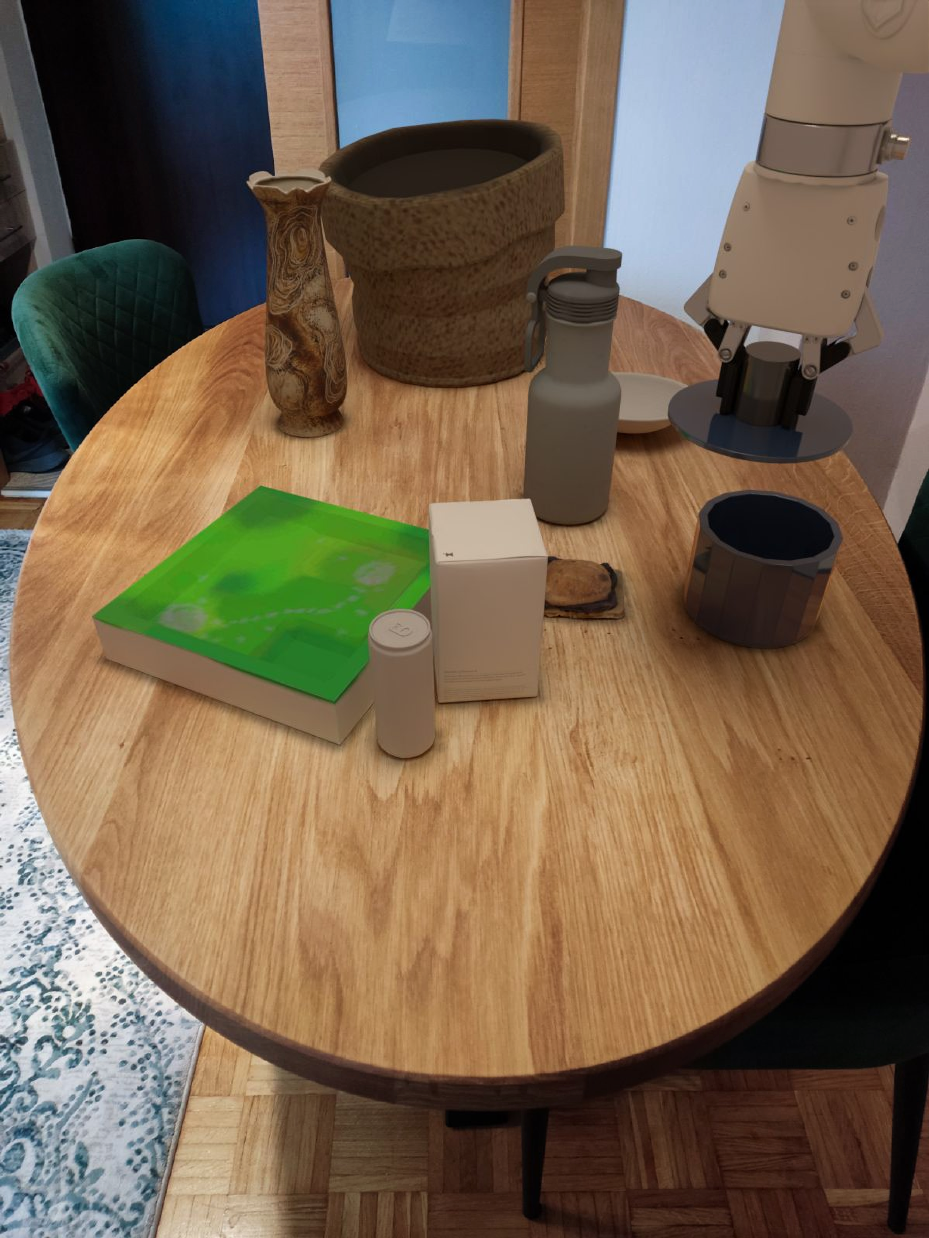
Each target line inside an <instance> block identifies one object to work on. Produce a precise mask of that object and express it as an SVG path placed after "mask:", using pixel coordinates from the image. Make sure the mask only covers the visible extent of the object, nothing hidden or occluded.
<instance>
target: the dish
mask: <svg viewBox="0 0 929 1238" xmlns="http://www.w3.org/2000/svg"><path fill="white" fill-rule="evenodd" d="M610 372H611V373H612V374H613V375H614V376H615V377H616V378H617V380H618V381H619V383H620V386H621V403H620V412H619V420H618V428H617V433H619V434H620V433H621V434H647V433H652V432H657V431H660V430H662V429H665V428H668V427H670V426H672V425H671V423H670V421H669V419H668V405H669V402H670V400H671V399H672V397H673V396H674V395H675V394H676V393H677V392H678V391H680V390H682V389H683V388H685V387H688V386H689V385H687V384H685V383H683V382H681V381H678V380H675V379H673V378H669V377H665V376H662V375H656V374H650V373H642V372H630V371H629V372H628V371H627V372H626V371H610Z"/></svg>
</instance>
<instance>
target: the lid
mask: <svg viewBox="0 0 929 1238" xmlns="http://www.w3.org/2000/svg"><path fill="white" fill-rule="evenodd" d="M745 347H746V348H745V351H744V356H743V361H742V366H741V371H740V376H739V381H738V385H737V390H736V395H735V400H734V405H733V409H732V411H731V412H730V413H727V414H722V413H719V410H720V405H721V400H722V398H720V397H716V390H717V385H718V379H719V378H714V379H709V380H704V381H699V382H696V383H693V384H690V385H687V386H688V387H685V388H683V389H682V390H680V391H678V392H677V393H676V394H675V395H674V396H673V397H672V399H671V400H670V402H669V405H668V419H669V421H670V423H671V425H670V426H672V428H673V429H674V430H675V432H677V433H678V434H679V435H680V436H681V437H682V438H684V439H685V440H686V441H688V442H689V443H692V444H694V445H696V446H698V447H699V448H702V449H704V450H707V451H709V452H711V453H712V452H713V453H715V454H718V455H721V456H725V457H727V458H731V459H735V460H741V461H748V462H752V463H753V462H754V463H762V464H777V465H779V464H781V465H783V464H787V465H788V464H802V463H809V462H813V461H814V462H815V461H819V460H822V459H826V458H829V457H831V456H833V455H836V454H837V453H839V452H841V451H842V450H843V449H845V448H846V447H847V445H849V443H850V441H851V439H852V436H853V433H854V424H853V421H852V419H851V417H850V416H849V414H848V413H847V411H845V409H843V408H842V407H841V406H840V405H838V404H837V403H836V402H834V401H833V400H832V399H830V398H827V397H826V396H824V395H822V394H819V393H818V392H815V391H814V393H813V397H812V401H811V404H810V408H809V410H808V413H807V414H806V416H802V415H799V416H798V417H797V419H796V421H795V422H794V424H793V425H792V427H791V428H790V429H788V428H784V427H783V425H781V422H782V418H783V414H784V410H785V405H786V401H787V397H788V393H789V389H790V385H791V381H792V378H793V376H794V375H795V374H796V372H797V371H798V369H799V367H800V365H801V361H802V351H800V350H799V349H798V347H795V346H793V345H791V344H787V343H784V342H779V341H771V340H761V341H754V342H751V343H749V344H747V345H745Z"/></svg>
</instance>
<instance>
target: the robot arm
mask: <svg viewBox="0 0 929 1238" xmlns="http://www.w3.org/2000/svg"><path fill="white" fill-rule="evenodd" d="M781 14H782V15H781V21H780V24H779V26H780V27H779V31H778V37H777V40H776V41H777V42H776V47H775V53H774V58H773V64H772V67H771V68H772V69H771V74H770V79H769V83H768V84H769V85H768V90H767V96H766V101H765V106H764V113H763V117H762V123H761V126H760V127H761V128H760V134H759V138H758V144H757V150H756V155H755V160H752V161H749V162H748V163H747V164H746V165H745V166H744V168H743V170H742V173H741V175H740V178H739V181H738V183H737V186H736V189H735V192H734V195H733V198H732V201H731V204H730V207H729V211H728V214H727V217H726V222H725V225H724V227H723V232H722V235H721V239H720V243H719V247H718V250H717V254H716V258H715V263H714V266H713V271H712V272H711V273H710V275H709V276H708V277H707V278H706V279H705V280H704V281H703V282H702V284H701V285H700V286H699V287H698V288H697V289H696V290H695V292H694V293H693V294H692V295H691V296H690V297H689V298H688V299H687V301H685V303H684V305H683V311H684V313H686V314H687V315H688V316H689V317H690V318H691V319H692V321H694V322H695V323H696V324H697V325H698V326H699V327H701V328H702V330H703V332H704V334H705V335H706V337H707V338H708V339H709V341H710V342H711V344H712V345H713V347H714V348H715V350H716V351H717V358H718V360H719V361H720V362H721V364H720V370H719V373H718V374H719V375H718V378H717V379H718V385H717V390H716V397H720V398H722V400H721V405H720V410H719V413H722V414H727V413H730V412H731V411H732V409H733V405H734V400H735V395H736V390H737V385H738V381H739V376H740V371H741V366H742V361H743V356H744V351H745V348H746V345H745V343H746V341H747V338H748V336H749V333H750V332H751V329H752V327H757V328H763V329H768V330H774V331H779V332H785V333H791V334H795V335H801V336H802V351H801V354H802V355H801V363H800V364H799V368H798V371H797V372H796V374H795V375H794V376H793V378H792V381H791V385H790V389H789V393H788V397H787V401H786V405H785V410H784V414H783V418H782V422H781V425H783V427H784V428H788V429H790V428H791V427H792V425H793V424H794V422H795V421H796V419H797V417H798V416H799V415H802V416H806V414H807V413H808V410H809V408H810V404H811V401H812V397H813V393H814V392H815V389H816V385H817V381H818V377H819V375H820V374H822V373H824V372H826V371H827V370H829V369H831V368H832V367H834V366H836V365H838V364H839V363H840V362H843V361H844V360H846V359H847V358H849V357H851V356H852V357H853V356H856V355H858V354H861V353H864V352H867V351H870V350H873V349H875V348H877V347H879V346H880V345H881V343H882V341H883V339H884V337H885V331H884V329H883V326H882V322H881V320H880V318H879V314H878V312H877V309H876V306H875V303H874V301H873V299H872V296H871V292H870V288H871V283H872V278H873V274H874V272H875V271H874V270H875V266H876V262H877V257H878V253H879V249H880V242H881V238H882V234H883V228H884V222H885V217H886V211H887V203H888V193H889V175H888V174H887V173H884V172H882V171H878V168H879V167H880V166H882V165H883V164H884V163H886V161H887V162H892V160H899V161H905V159H906V157H907V154H908V152H909V148H910V145H911V141H912V135H905V134H900V132H899V131H895V127H894V126H892V123H893V120H894V118H892V116H893V112H894V109H895V105H896V102H897V98H898V94H899V91H900V86H901V83H902V79H903V76H904V74H908V75H912V74H915V75H916V74H918V75H919V74H929V0H784V4H783V10H782V13H781ZM853 323H854V325H855V328H856V331H855V332H852V333H851V334H849V335H846V334H848V333H849V331H850V330H851V329H852V326H853ZM834 338H837V339H835V340H833V341H832V342H831V343H830V339H834Z"/></svg>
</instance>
